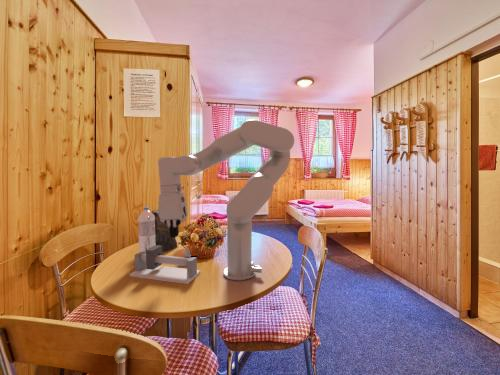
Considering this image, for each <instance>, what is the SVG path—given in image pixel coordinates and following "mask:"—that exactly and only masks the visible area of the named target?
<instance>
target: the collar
mask: <svg viewBox="0 0 500 375" xmlns="http://www.w3.org/2000/svg"><path fill="white" fill-rule="evenodd" d="M156 255H162V256H163V252H162V246H159V245H155V246H153V247H151V248H149V249H147V250H146V269H151V270H153V269H155V268H157V267H158V266H162V263H155V256H156Z"/></svg>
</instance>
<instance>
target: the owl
mask: <svg viewBox="0 0 500 375" xmlns="http://www.w3.org/2000/svg"><path fill="white" fill-rule="evenodd" d="M151 212H152V213H153V214H154V216H155V234H156V235H155V236H156V245H159V246H162V253H164V252H168V251H170V250H174V249H175V248H178V241H177V239H176V238H177V237H175V238H173V237H172V238H171V237H170V231H169V227H168V226H167V224H166V223H165V222H161V221H160V217H159V209H154V210H152V211H151Z"/></svg>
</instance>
